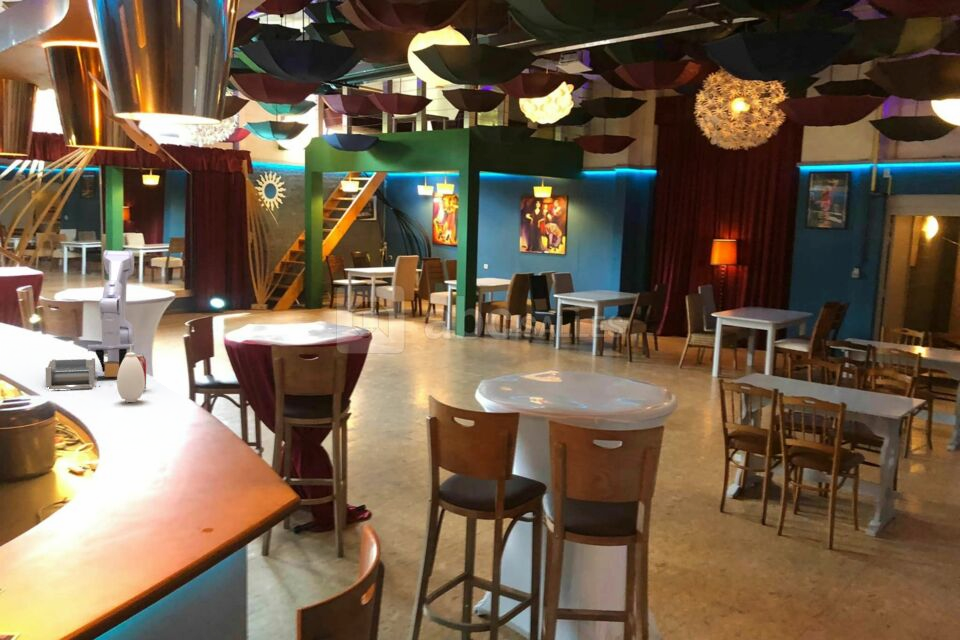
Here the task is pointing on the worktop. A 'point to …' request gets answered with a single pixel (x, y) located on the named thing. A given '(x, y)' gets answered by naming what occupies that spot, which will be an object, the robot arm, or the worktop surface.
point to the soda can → (142, 364)
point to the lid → (71, 365)
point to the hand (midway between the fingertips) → (111, 371)
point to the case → (70, 376)
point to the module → (111, 368)
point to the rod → (72, 386)
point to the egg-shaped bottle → (130, 378)
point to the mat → (106, 378)
